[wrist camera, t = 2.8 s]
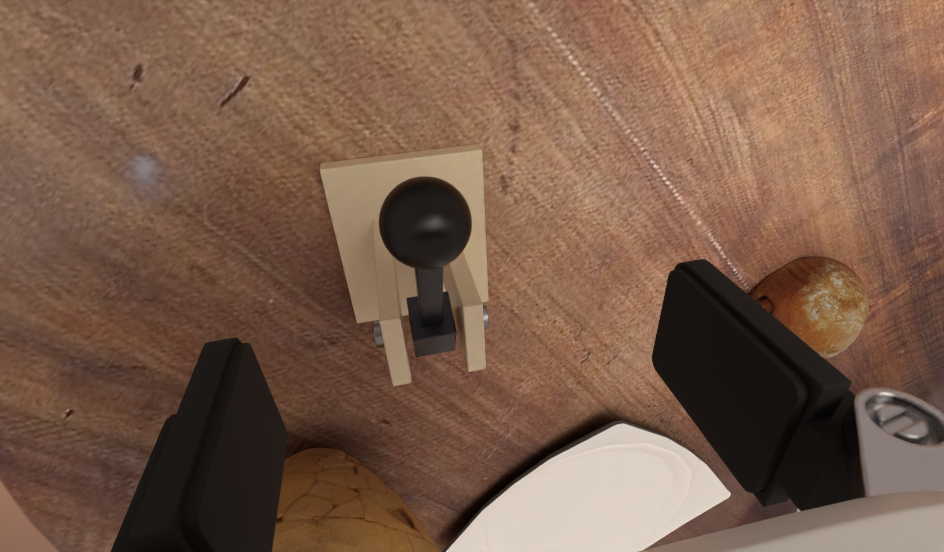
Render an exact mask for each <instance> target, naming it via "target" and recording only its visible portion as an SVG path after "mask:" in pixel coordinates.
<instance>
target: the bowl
mask: <svg viewBox="0 0 944 552" xmlns="http://www.w3.org/2000/svg"><path fill="white" fill-rule="evenodd" d="M272 552H440V550H439V548H438V546H437V544H436V542H435V541H434V539H433V538H432V536H431V535H430V533H429V532H428V531H427V529H426V528H425V527H424V525H423V524H422V522H421V521H420V520H419V518H418V517H417V516H416V515H415V513H414V512H413V511H412V510H411V509H410V508H409V507H408V506H407V505H406V504H405V503H404V501H403V500H402V499H401V498H400V497H399V496H398V495H397V494H396V493H395V492H394V491H392V490H391V489H390V488H389V487H388V486H387V485H386V484H385V483H384V482H383V481H382V480H381V479H380V478H379V477H378V476H376V475H375V474H374V473H372V472H371V471H370V470H369V469H368V468H367V467H366V466H365V465H363V464H362V463H361V462H359V461H358V460H357V459H355V458H354V457H352V456H350V455H348V454H346V453H344V452H342V451H340V450H337V449H331V448H312V449H307V450H304V451H301V452H298V453H297V454H295V455H293V456H291V457H289V458H287V459H286V460H285V463H284V470H283V477H282V484H281V491H280V498H279V505H278V512H277V519H276V527H275V534H274V541H273V548H272Z"/></svg>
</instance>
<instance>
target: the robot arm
mask: <svg viewBox="0 0 944 552" xmlns="http://www.w3.org/2000/svg"><path fill="white" fill-rule="evenodd" d="M652 362H653V365H654V368H655V370H656V371H657V373H658V374H659V375H660V377H661V378H662V380H663V381H664V382H665V384H666V385H667V386H668V388H669V389H670V390H671V392H672V393H673V394H674V396H675V397H676V398H677V400H678V401H679V402H680V404H681V405H682V406H683V408H684V409H685V411H686V412H687V413H688V415H689V416H690V417H691V419H692V420H693V421H694V423H695V424H696V425H697V427H698V428H699V429H700V431H701V432H702V433H703V435H704V436H705V437H706V439H707V440H708V442H709V443H710V444H711V446H712V447H713V448H714V450H715V451H716V452H717V454H718V455H719V456H720V458H721V459H722V460H723V462H724V463H725V464H726V466H727V467H728V469H729V470H730V471H731V473H732V474H733V475H734V477H735V478H736V479H737V481H738V482H739V483H740V485H741V486H742V487H743V488H744V489H745V490H746V491H747V492H750V493H754V495H755V496H756V497H757V499H758V500H759V501H760V503H761V504H762V505H763V507H765V506H769V505H773V504H777V503H781V502H785V501H788V499H789V498H790V499H791V501H792V502H793V503H794V504H795V505H796V507H797V512H796V513H792V514H787V515H783V516H779V517H775V518H771V519H767V520H763V521H759V522H755V523H751V524H747V525H743V526H739V527H735V528H731V529H727V530H723V531H719V532H715V533H711V534H707V535H703V536H699V537H695V538H691V539H687V540H683V541H679V542H675V543H671V544H667V545H663V546H659V547H655V548H651V549H647V550H643V551H639V552H944V415H943V413H942V412H940V411H939V410H937V409H936V408H934V407H933V406H932V405H930V404H929V403H927V402H925V401H923V400H921V399H919V398H917V397H915V396H913V395H910V394H907V393H904V392H901V391H898V390H893V389H887V388H869V389H866V390H863V391H861V392H860V393H859V394H858V395H857V396H855V395H854V394H853V393H852V392H851V391H850V390H848V388H849V386H850V385H851V383H852V382H851V381H850V380H849V379H848V378H847V377H845V376H844V375H843V374H842V373H841V372H839V371H838V370H837V369H836V368H835V367H834V366H832V365H831V364H830V363H829V362H828V361H826V360H825V359H824V358H823V357H822V356H820V355H819V354H818V353H817V352H816V351H814V350H813V349H812V348H811V347H810V346H809V345H807V344H806V343H805V342H804V341H803V340H801V339H800V338H799V337H798V336H797V335H795V334H794V333H793V332H792V331H791V330H789V329H788V328H787V327H786V326H785V325H784V324H782V323H781V322H780V321H779V320H778V319H776V318H775V317H774V316H773V315H772V314H770V313H769V312H768V311H767V310H766V309H764V308H763V307H762V306H761V305H760V304H759V303H757V302H756V301H755V300H754V299H753V298H751V297H750V296H749V295H748V294H747V293H745V292H744V291H743V290H742V289H741V288H739V287H738V286H737V285H736V284H735V283H734V282H732V281H731V280H730V279H729V278H728V277H726V276H725V275H724V274H723V273H722V272H720V271H719V270H718V269H717V268H716V267H714V266H713V265H712V264H711V263H710V262H708V261H707V260H704V259H700V260H694V261H688V262H682V263H679V264H677V266H676V267H675V269H674V270H673V271H671V272H670V274H669V276H668V281H667V286H666V291H665V296H664V301H663V305H662V310H661V315H660V320H659V325H658V330H657V334H656V339H655V344H654V349H653V354H652ZM286 448H287V433H286V428H285V426H284V423H283V421H282V418H281V416H280V414H279V411H278V409H277V406H276V404H275V402H274V399H273V397H272V394H271V392H270V390H269V387H268V385H267V382H266V380H265V378H264V375H263V373H262V370H261V368H260V366H259V363H258V361H257V358H256V356H255V354H254V351H253V349H252V347H251V345H250V344H249V343H243V344H242V343H241V341H240V340H239V339H238V338H230V339H224V340H218V341H212V342H207V343H206V344H205V345H204V347H203V349H202V351H201V354H200V356H199V359H198V361H197V364H196V366H195V369H194V371H193V374H192V376H191V379H190V381H189V384H188V387H187V389H186V392H185V394H184V397H183V399H182V402H181V404H180V407H179V409H178V412H177V414H174V415H171V416H170V417H169V418H168V419H167V420H166V421H165V423H164V425H163V427H162V429H161V432H160V434H159V437H158V439H157V441H156V444H155V446H154V449H153V451H152V453H151V456H150V458H149V461H148V463H147V465H146V468H145V470H144V473H143V475H142V478H141V480H140V482H139V485H138V487H137V490H136V492H135V494H134V497H133V499H132V502H131V504H130V506H129V509H128V511H127V514H126V516H125V518H124V521H123V523H122V526H121V528H120V531H119V533H118V535H117V538H116V540H115V543H114V545H113V547H112V550H111V552H272V548H273V541H274V534H275V527H276V519H277V512H278V505H279V498H280V491H281V484H282V477H283V470H284V463H285V455H286Z"/></svg>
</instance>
